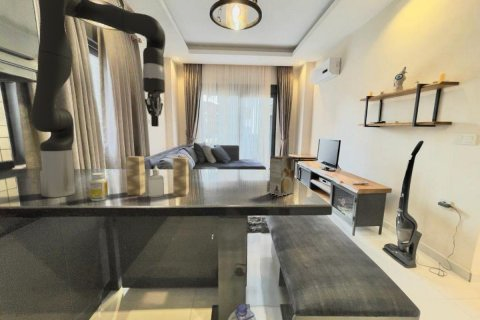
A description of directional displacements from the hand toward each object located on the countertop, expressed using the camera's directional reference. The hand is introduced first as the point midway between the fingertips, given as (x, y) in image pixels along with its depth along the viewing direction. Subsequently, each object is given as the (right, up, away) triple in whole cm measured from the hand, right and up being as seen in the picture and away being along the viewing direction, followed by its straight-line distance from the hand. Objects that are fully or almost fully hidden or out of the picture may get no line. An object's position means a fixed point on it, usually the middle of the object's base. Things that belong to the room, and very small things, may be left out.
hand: (155, 126), depth 83 cm
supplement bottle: (-20, -27, -2) cm, 34 cm away
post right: (+8, -27, +7) cm, 29 cm away
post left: (-10, -26, +6) cm, 29 cm away
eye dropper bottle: (-1, -27, +4) cm, 27 cm away
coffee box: (+50, -27, +11) cm, 58 cm away
